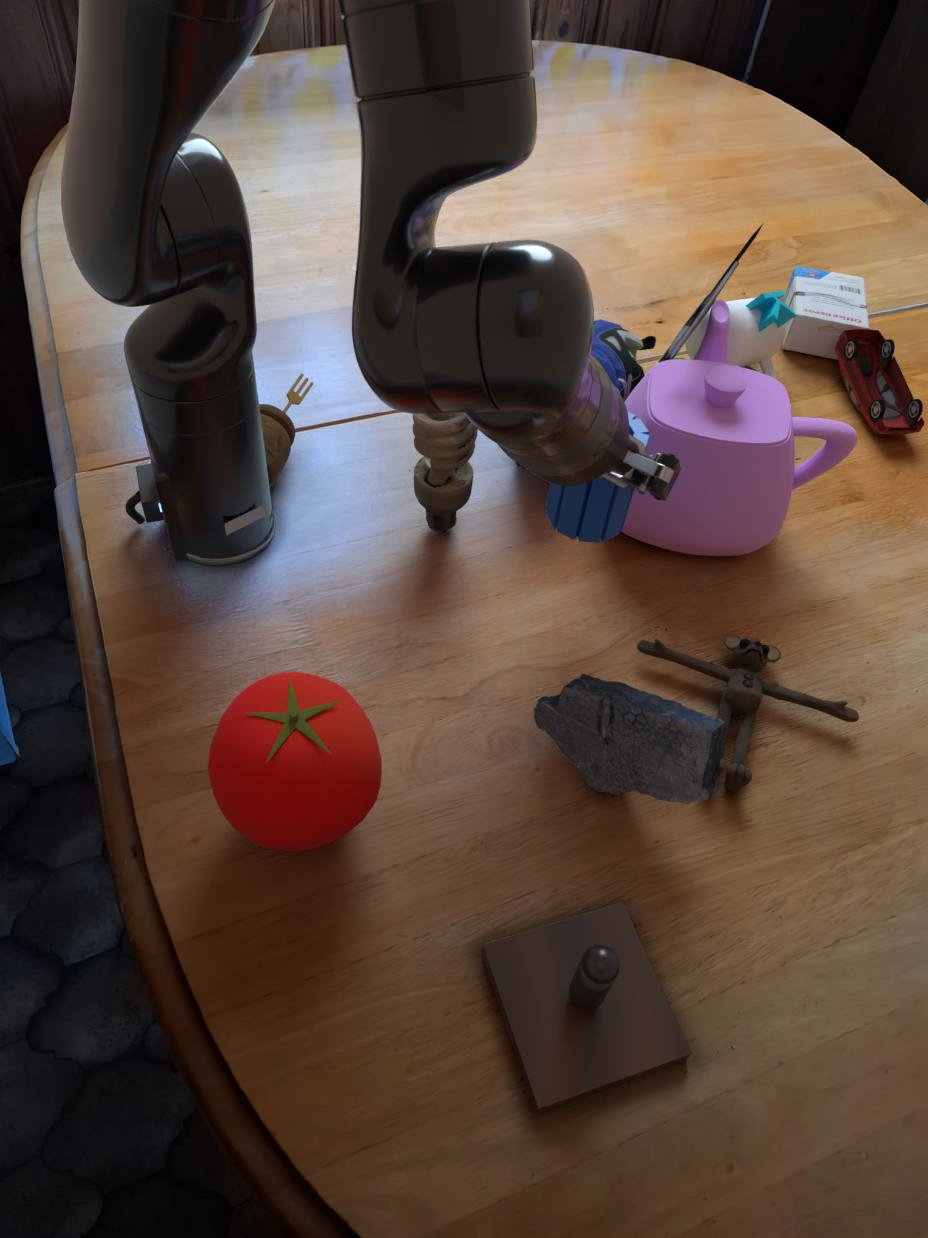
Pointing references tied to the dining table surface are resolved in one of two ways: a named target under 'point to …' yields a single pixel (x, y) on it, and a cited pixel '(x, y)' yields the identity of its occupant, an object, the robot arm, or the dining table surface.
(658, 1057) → the peg stand
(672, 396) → the teapot
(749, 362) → the mug
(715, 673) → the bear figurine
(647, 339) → the athletic shoe
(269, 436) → the utensil holder
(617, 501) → the blue notched tube
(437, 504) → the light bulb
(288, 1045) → the dining table surface
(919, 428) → the toy car
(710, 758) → the stone
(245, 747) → the tomato
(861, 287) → the ink box
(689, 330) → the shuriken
